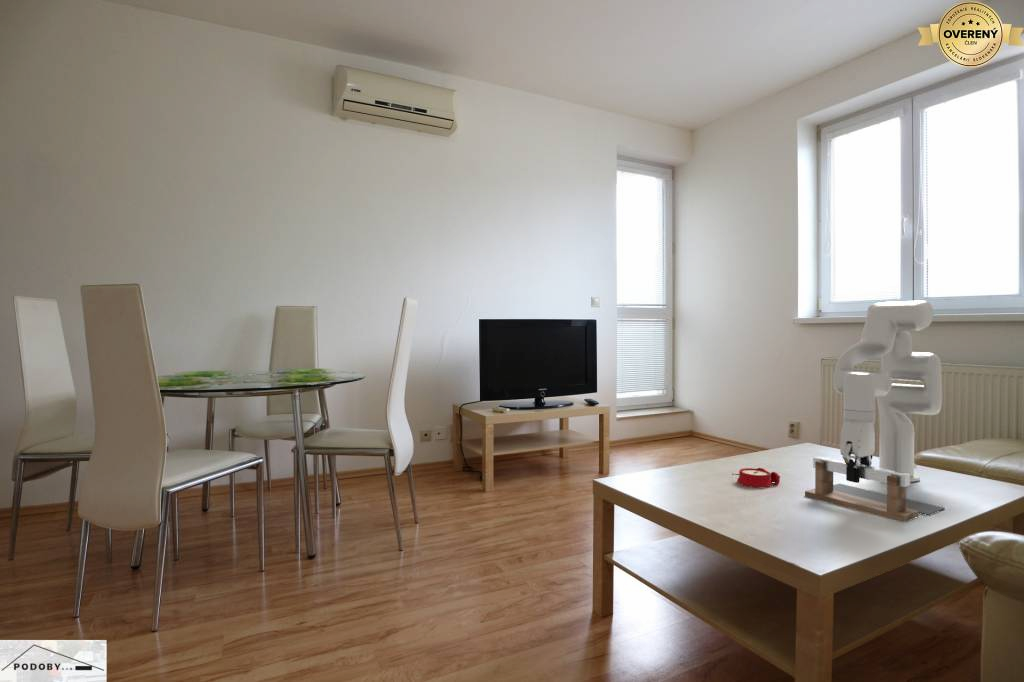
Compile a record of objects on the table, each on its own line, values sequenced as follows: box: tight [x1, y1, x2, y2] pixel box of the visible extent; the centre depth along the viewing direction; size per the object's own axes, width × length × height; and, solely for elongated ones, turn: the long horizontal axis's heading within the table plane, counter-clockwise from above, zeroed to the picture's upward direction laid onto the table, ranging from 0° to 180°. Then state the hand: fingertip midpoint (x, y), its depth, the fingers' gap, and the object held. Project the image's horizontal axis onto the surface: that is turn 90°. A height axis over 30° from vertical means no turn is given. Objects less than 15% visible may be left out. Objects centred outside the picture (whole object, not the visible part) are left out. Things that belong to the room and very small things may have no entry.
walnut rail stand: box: [804, 461, 920, 523], centre depth 151 cm, size 8×26×11 cm, turn 31°
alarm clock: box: [731, 467, 781, 488], centre depth 174 cm, size 10×6×15 cm
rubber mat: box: [833, 483, 945, 516], centre depth 157 cm, size 10×28×1 cm, turn 31°
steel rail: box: [812, 455, 911, 488], centre depth 151 cm, size 3×24×3 cm, turn 31°
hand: (858, 479), depth 151 cm, fingers open, 5 cm apart
